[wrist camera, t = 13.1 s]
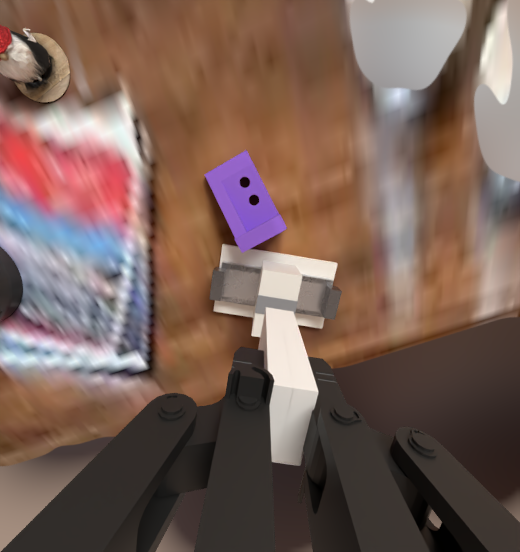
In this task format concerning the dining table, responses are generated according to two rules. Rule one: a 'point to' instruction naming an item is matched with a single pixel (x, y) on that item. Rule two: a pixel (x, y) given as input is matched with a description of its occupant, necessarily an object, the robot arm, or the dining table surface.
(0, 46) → the figurine
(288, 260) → the mount plate
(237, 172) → the bracket
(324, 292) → the rail
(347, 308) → the dining table surface
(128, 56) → the dining table surface
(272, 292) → the block
